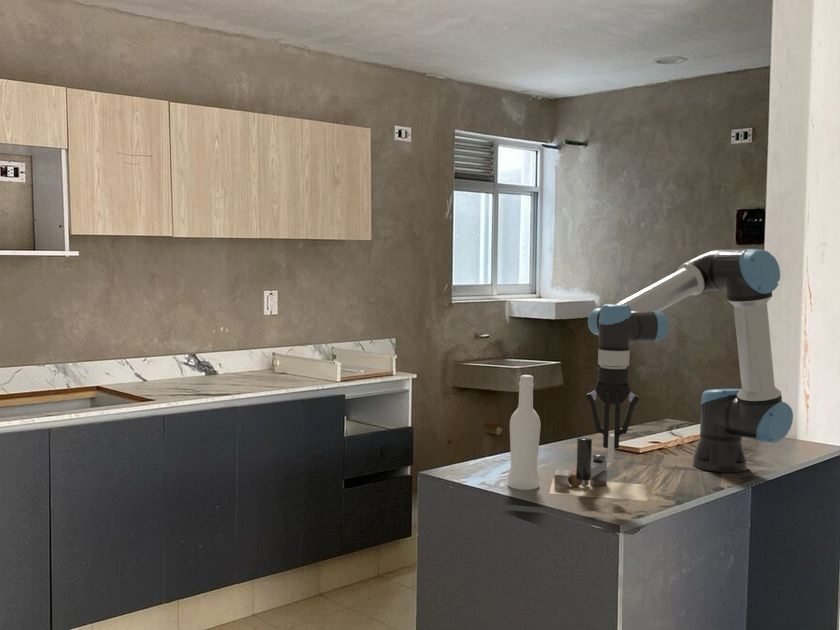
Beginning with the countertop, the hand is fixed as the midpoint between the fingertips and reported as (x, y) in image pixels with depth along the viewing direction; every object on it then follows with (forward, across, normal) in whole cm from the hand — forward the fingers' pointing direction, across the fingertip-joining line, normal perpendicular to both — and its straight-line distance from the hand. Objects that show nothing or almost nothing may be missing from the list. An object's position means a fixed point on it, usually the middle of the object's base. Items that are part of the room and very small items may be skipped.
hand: (610, 460), depth 212 cm
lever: (+9, +5, -6) cm, 11 cm away
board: (+10, +3, -6) cm, 12 cm away
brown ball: (+9, +8, -6) cm, 13 cm away
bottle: (+10, +22, -4) cm, 24 cm away
